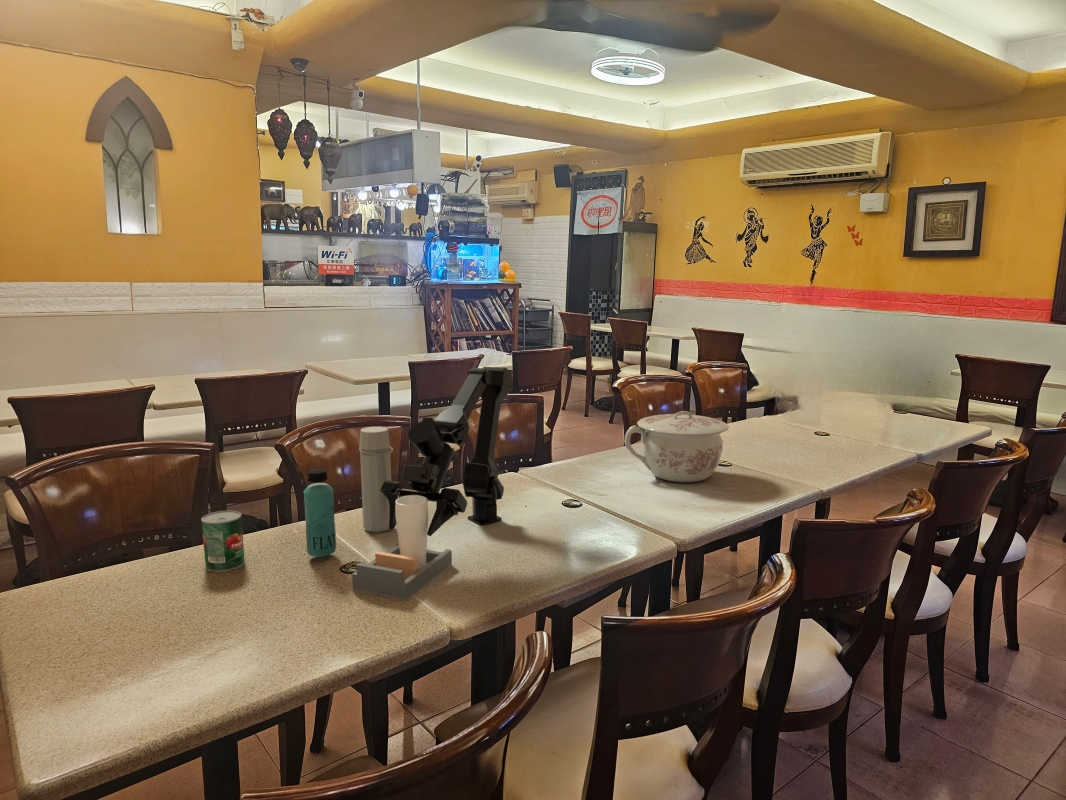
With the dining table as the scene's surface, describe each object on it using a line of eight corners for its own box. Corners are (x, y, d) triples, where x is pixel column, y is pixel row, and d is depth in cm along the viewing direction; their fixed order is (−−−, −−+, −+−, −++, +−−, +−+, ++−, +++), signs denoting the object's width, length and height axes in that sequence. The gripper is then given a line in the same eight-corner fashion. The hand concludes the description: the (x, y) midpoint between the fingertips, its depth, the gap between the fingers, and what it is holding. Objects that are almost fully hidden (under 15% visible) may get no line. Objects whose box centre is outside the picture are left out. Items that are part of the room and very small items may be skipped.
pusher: (379, 574, 147) (378, 551, 146) (418, 581, 143) (417, 558, 143) (376, 576, 146) (375, 553, 145) (415, 583, 142) (414, 560, 141)
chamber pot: (738, 472, 223) (741, 408, 219) (709, 496, 200) (712, 424, 196) (654, 460, 238) (656, 399, 234) (618, 480, 215) (620, 413, 211)
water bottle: (356, 528, 175) (351, 429, 170) (382, 520, 180) (379, 424, 176) (378, 538, 169) (373, 435, 164) (405, 529, 174) (401, 430, 170)
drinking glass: (409, 577, 146) (406, 507, 143) (391, 567, 151) (388, 499, 148) (436, 567, 150) (434, 500, 148) (418, 558, 155) (416, 492, 153)
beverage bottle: (309, 565, 153) (304, 476, 149) (304, 554, 159) (298, 468, 155) (340, 560, 156) (335, 472, 152) (333, 549, 162) (329, 464, 158)
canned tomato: (205, 561, 156) (201, 513, 154) (244, 555, 159) (240, 508, 157) (205, 575, 148) (200, 525, 146) (245, 568, 151) (241, 519, 149)
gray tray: (402, 556, 158) (401, 532, 157) (451, 565, 153) (451, 540, 152) (352, 590, 141) (351, 563, 140) (406, 601, 137) (405, 573, 136)
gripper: (382, 444, 153) (354, 509, 145) (459, 452, 146) (434, 521, 138) (403, 470, 162) (378, 532, 154) (477, 479, 155) (454, 545, 147)
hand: (409, 532), depth 148 cm, fingers open, 9 cm apart
